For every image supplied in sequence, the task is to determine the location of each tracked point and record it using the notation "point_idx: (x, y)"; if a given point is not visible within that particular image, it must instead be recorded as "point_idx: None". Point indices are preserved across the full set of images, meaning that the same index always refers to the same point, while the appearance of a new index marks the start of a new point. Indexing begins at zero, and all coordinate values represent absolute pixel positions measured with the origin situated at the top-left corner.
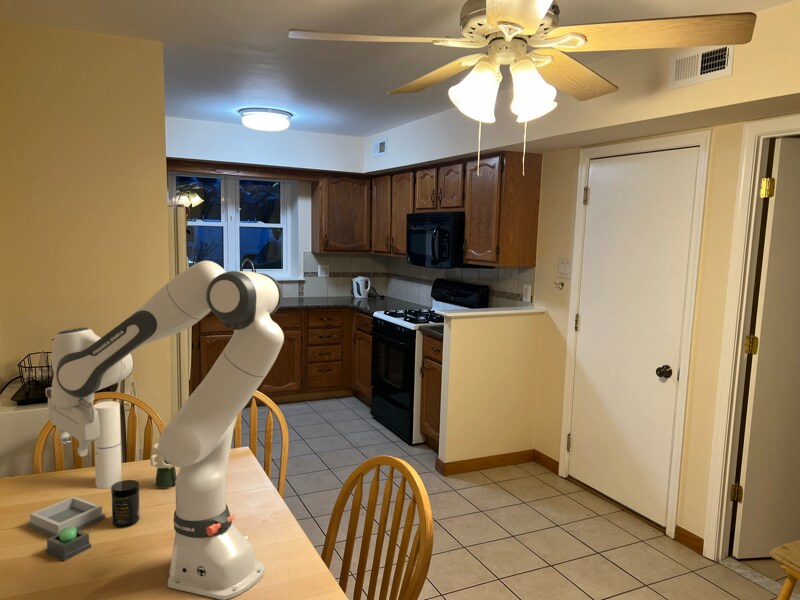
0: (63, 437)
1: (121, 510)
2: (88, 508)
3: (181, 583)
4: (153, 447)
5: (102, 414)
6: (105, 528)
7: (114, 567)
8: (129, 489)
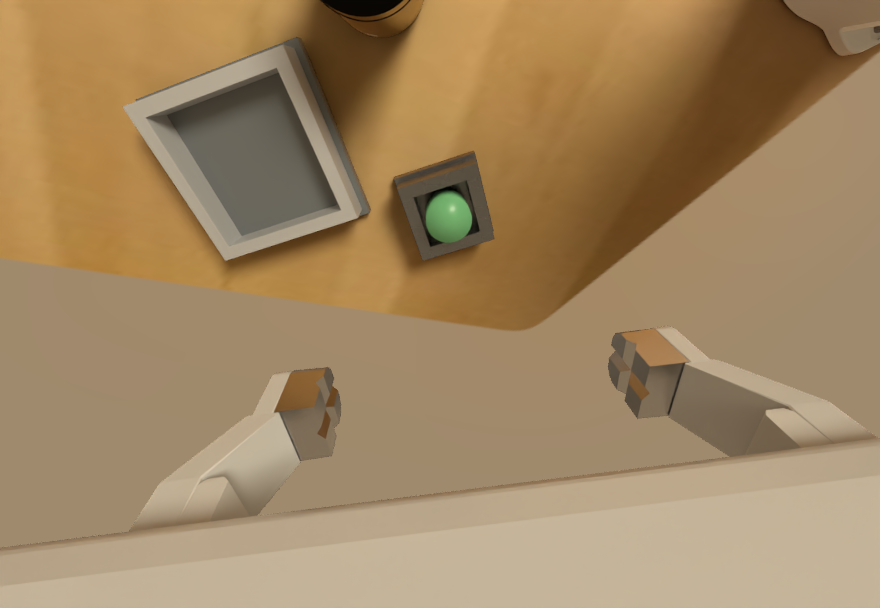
0: (292, 453)
1: (417, 4)
2: (240, 84)
3: None
4: None
5: None
6: (380, 68)
7: (622, 136)
8: None
